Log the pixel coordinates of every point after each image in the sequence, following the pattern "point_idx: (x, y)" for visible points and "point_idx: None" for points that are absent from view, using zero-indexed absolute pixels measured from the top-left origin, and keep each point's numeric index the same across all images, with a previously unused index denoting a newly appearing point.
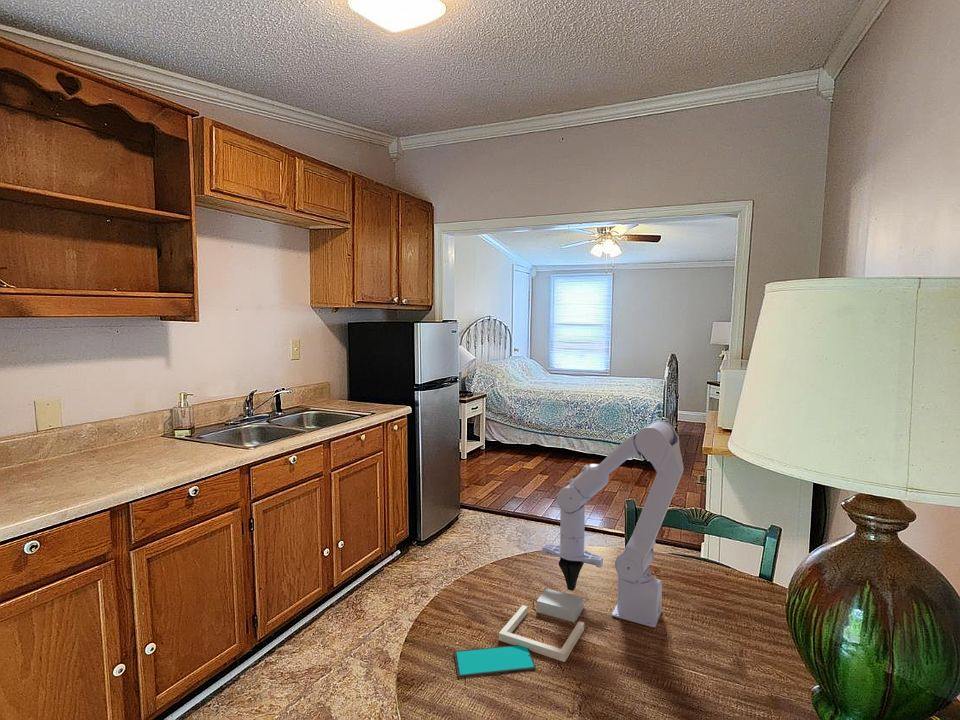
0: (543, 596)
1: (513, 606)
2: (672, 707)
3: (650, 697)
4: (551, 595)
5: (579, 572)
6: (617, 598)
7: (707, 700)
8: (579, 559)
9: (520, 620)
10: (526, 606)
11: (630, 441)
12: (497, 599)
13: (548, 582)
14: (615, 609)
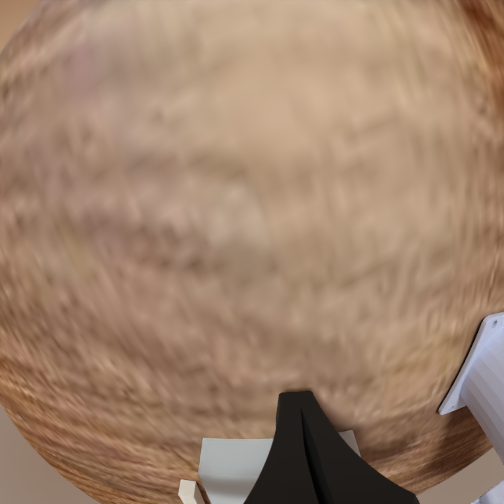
0: (217, 494)
1: (145, 468)
2: (452, 474)
3: (435, 481)
4: (241, 489)
5: (354, 453)
6: (479, 405)
7: (490, 445)
8: None
9: (201, 498)
10: (191, 496)
11: None
12: (92, 450)
13: (135, 336)
14: (455, 392)
